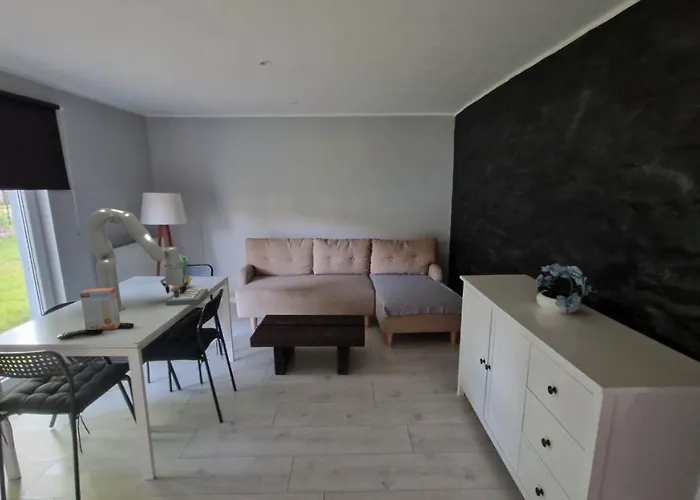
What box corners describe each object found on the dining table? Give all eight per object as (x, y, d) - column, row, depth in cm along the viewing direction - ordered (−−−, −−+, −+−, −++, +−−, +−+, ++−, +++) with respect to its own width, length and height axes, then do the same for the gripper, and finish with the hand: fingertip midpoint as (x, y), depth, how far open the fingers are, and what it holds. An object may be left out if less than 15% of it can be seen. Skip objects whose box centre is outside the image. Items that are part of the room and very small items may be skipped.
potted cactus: (184, 292, 242) (181, 256, 238) (164, 291, 245) (160, 256, 240) (197, 286, 257) (194, 252, 253) (178, 285, 260) (174, 252, 255)
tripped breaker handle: (183, 293, 225) (182, 287, 224) (179, 293, 225) (179, 287, 224) (184, 292, 227) (183, 286, 227) (181, 292, 227) (180, 286, 226)
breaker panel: (198, 303, 217) (197, 290, 216) (166, 306, 215) (164, 292, 213) (208, 293, 240) (206, 281, 238) (178, 294, 237) (177, 282, 236)
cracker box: (121, 325, 185) (116, 286, 181) (115, 330, 179) (109, 290, 175) (92, 327, 184) (86, 288, 180) (85, 331, 178) (79, 291, 174)
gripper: (156, 268, 218) (159, 295, 221) (186, 267, 220) (188, 293, 223) (161, 265, 225) (164, 291, 228) (189, 264, 227) (192, 290, 230)
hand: (176, 292), depth 225 cm, fingers open, 9 cm apart
